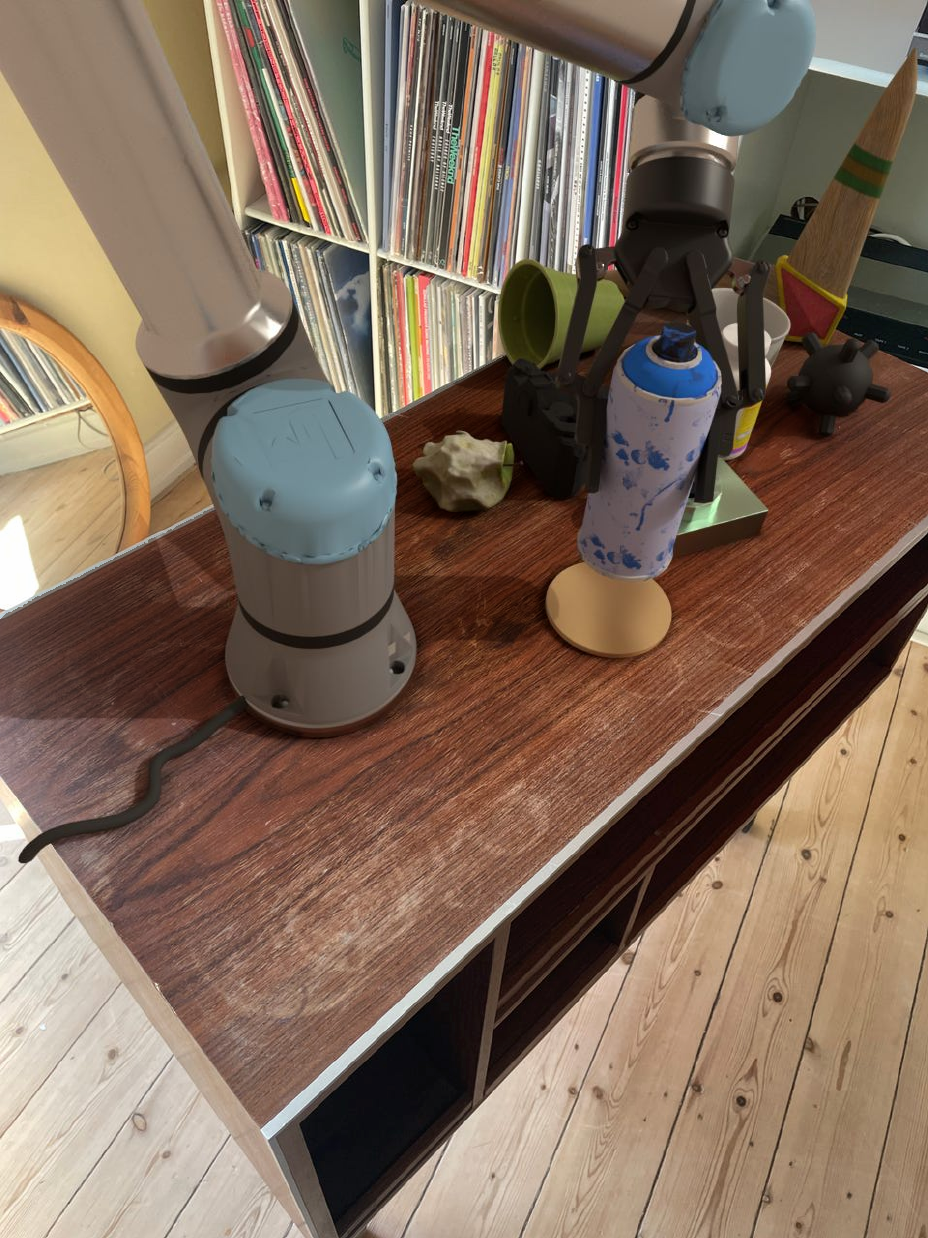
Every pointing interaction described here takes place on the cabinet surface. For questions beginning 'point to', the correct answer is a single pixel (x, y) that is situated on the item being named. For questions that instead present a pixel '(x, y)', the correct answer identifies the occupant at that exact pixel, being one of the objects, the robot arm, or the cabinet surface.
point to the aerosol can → (649, 453)
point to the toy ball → (835, 380)
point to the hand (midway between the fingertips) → (647, 496)
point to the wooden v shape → (837, 221)
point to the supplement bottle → (745, 415)
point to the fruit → (466, 472)
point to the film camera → (545, 427)
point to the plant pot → (549, 312)
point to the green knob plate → (720, 515)
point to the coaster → (607, 612)
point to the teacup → (773, 318)
